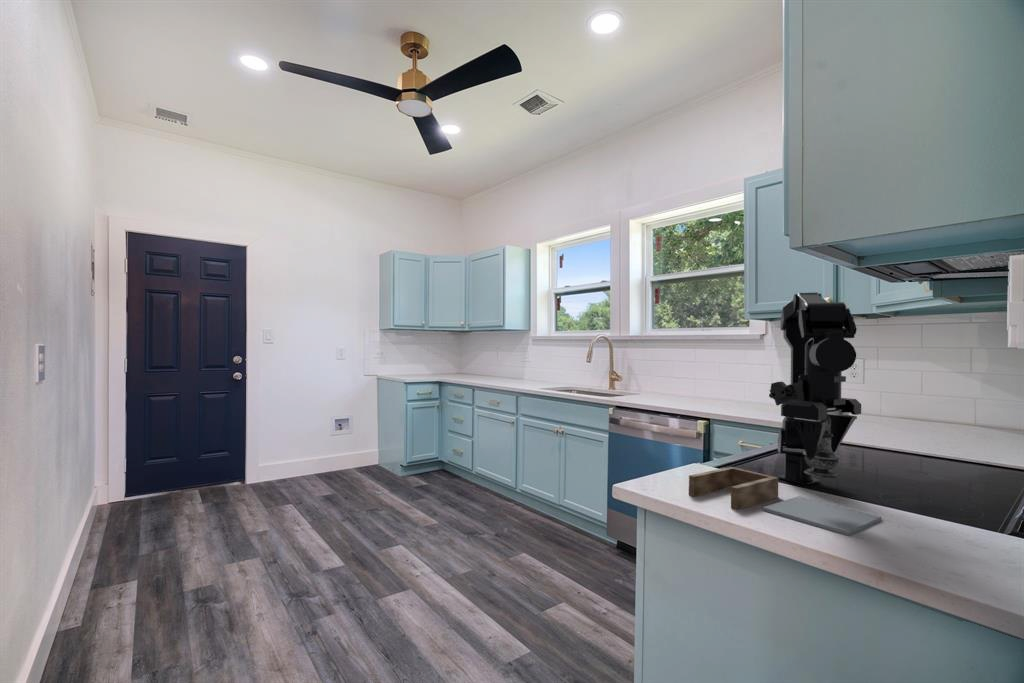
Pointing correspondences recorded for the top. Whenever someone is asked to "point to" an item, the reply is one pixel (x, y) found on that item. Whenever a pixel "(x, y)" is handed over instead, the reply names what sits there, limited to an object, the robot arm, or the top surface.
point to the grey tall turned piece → (823, 457)
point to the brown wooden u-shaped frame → (736, 485)
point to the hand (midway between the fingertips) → (821, 454)
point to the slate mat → (823, 514)
